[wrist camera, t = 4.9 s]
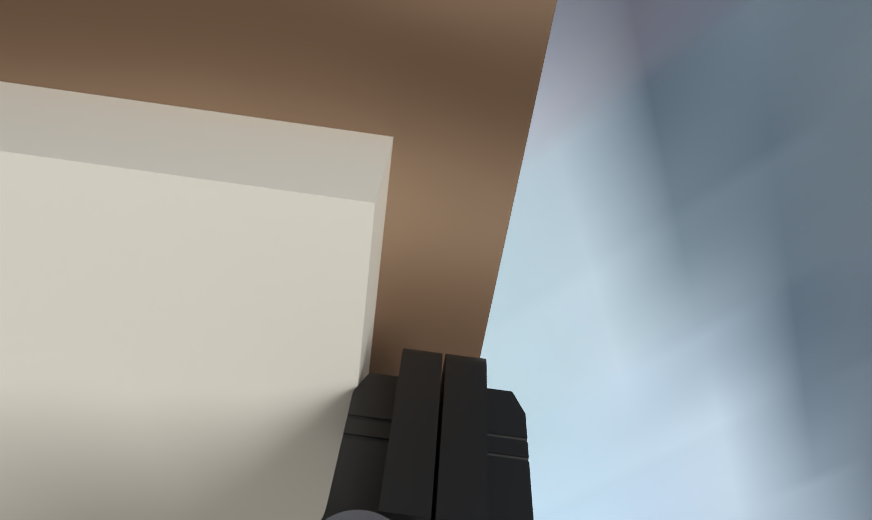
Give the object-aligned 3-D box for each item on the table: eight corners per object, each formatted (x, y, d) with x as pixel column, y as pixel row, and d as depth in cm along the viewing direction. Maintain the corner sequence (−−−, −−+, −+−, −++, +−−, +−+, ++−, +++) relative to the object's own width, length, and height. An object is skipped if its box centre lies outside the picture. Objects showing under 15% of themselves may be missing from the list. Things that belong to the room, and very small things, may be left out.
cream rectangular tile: (-25, 77, 12) (-135, 131, 10) (393, 136, 12) (375, 203, 10) (61, 487, 17) (1, 581, 15) (352, 524, 17) (335, 623, 15)
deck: (-75, -161, 14) (-261, -158, 10) (542, -64, 14) (563, -30, 11) (46, 438, 22) (-33, 550, 19) (433, 490, 22) (425, 610, 19)
